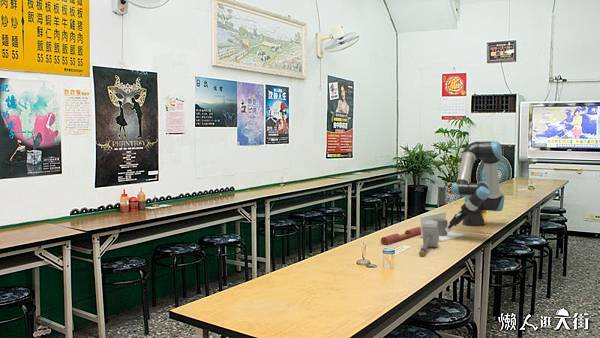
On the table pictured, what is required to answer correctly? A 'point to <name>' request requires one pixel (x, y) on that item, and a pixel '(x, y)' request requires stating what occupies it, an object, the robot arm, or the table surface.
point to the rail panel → (437, 216)
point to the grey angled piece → (429, 235)
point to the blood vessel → (401, 236)
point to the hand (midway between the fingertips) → (446, 230)
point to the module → (442, 226)
